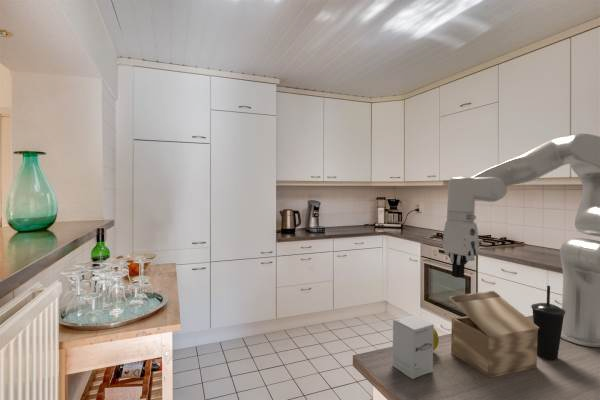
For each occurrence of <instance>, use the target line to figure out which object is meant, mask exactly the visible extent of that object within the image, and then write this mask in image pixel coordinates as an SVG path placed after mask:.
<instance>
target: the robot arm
mask: <svg viewBox="0 0 600 400" xmlns="http://www.w3.org/2000/svg"><path fill="white" fill-rule="evenodd" d="M565 165H570V168H571V169H572V170H573V172H574V173H575V174H576V176H577V177H578V179H579V180H580V182H581V184H582V194H581V198H580V201H579V205H578V208H577V212H576V216H575V219H574V227H575V228H576V230H577V231H578V232H580V233H582V234H585V235H588V236H593V237H594V236H595V237H599V238H600V136H599V135H595V134H590V133H582V132H581V133H574V134H570V135H563V136H559V137H555V138H553V139H550V140H547V141H546V142H544V143H542V144H540V145H538V146H536V147H534V148H533V149H531V150H529V151H526V152H525V153H523V154H521V155H519V156H516V157H514V158H512V159H508V160H507V161H505V162H502V163H500V164H497V165H494V166H491V167H490V168H487V169H485V170H483V171H481V172H479V173H477V174H475V175H473V176H471V177H468V176H467V177H466V176H457V177H455V176H453V177H451V178H449V180H448V184H447V206H446V209H447V212H446V221H445V224H444V229H443V237H442V249H443V250H444V255H446V256H447V257H449V259H450V263H451V264H452V265H451V267H452V268H451V277H455V278H464V277H465V265H467V263H468V262H472V261H475V256H477V255H479V230H478V226H477V223H476V222H475V220H476V219H477V215H475V208H476V207H475V206H476V201H478V202H487V203H489V202H490V203H494V202H498V201H500V200H502V199H504V198H505V196H506V194H507V191H508V187H509V186H514V185H519V184H525V183H529V182H533V181H536V180H537V179H539V178H541V177H544V176H545V175H547V174H549V173H551V172H553V171H554V170H556V169H559V168H560V167H563V166H565ZM559 248H560V249H559V257H560V262H561V267H562V296H561V298H562V300H561V301H562V302H561V304H562V305H561V306H562V307H561V309H563V310H565V312H566V313H565V315H564V318H563V325H562V332H561V338H560V339H563V340H565V341H568V342H570V343H573V344H576V345H580V346H583V347H584V346H585V347H589V348H590V347H591V348H600V240H595V239H589V238H584V237H573V238H569V239H567V240H565V241H564V242H563V243H562V245H561V246H560V247H559Z"/></svg>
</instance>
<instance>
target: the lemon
mask: <svg viewBox="0 0 600 400" xmlns="http://www.w3.org/2000/svg"><path fill="white" fill-rule="evenodd" d="M439 341H440V340H439V334H438V332H437V329H436V328H434V333H433V351H435V350H436V349H437V347H438V345H439Z"/></svg>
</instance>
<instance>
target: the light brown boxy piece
mask: <svg viewBox="0 0 600 400" xmlns="http://www.w3.org/2000/svg"><path fill="white" fill-rule="evenodd" d="M450 336H451V337H450V338H451V339H450V341H451V342H450V343H451V344H450V345H451V346H450V347H451V348H450V353H451V354H452V353H453V354H452V355H454V356H455V357H456V358H459V359H461V361H462V362H465V363H466V364H468V365H469V366H471V367H473V368H474V369H476V370H478V371H479V372H480V373H482V374H484V375H485V376H487V377H488V378H491V379H492V378H496V377H500V376H504V375H510V374H513V373H517V372H522V371H526V370H531V369H534V368H537V365H538V364H537V363H538V361H537V360H538V355H537V336H538V330H533V331H528V332H523V333H518V334H512V335H507V336H502V337H496V338H490V337H489V336H488V335H487V334H486V333H485V332H483V331H482V330H481V329H480V328H479V327H478V326H477V325H476V324H475V323H474V322H473V321H472V320H471V319H470V318H469V317H468V316H467V315H465V316H459V317H453V318H451V334H450Z"/></svg>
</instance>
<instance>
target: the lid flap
mask: <svg viewBox="0 0 600 400" xmlns="http://www.w3.org/2000/svg"><path fill="white" fill-rule="evenodd" d="M448 299H449V300H451V302H452V303H453V304H454V305H456V306H457V308H459V309H460V310H461V311H462V313H464V315H465V316H468V317H469V318H470V319H471V320H472V321H473V322H474V323H475V324H476V325H477V326H478V327H479V328H480V329H481V330H482V331H483V332H485V333H486V334H487V335H488V336H489V337H490V338H496V337H502V336H507V335H512V334H518V333H523V332H528V331H533V330H539V327H538V326H537V325H535V324H534V322H533V321H532V320H531V319H529V318H528V317H527V316H525V315H524V314H523V313H522V312H521V311H519V310H518V308H516V307H514V306H513V305H512V304H511V303H509V302H508V301H507V300H505V299H504V298H503V297H502V296H501V295H500V294H499V293H497V291H494V290H489V291H482V292H481V291H479V292H475V293H465V294H459V295H458V294H457V295H449V298H448Z"/></svg>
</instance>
